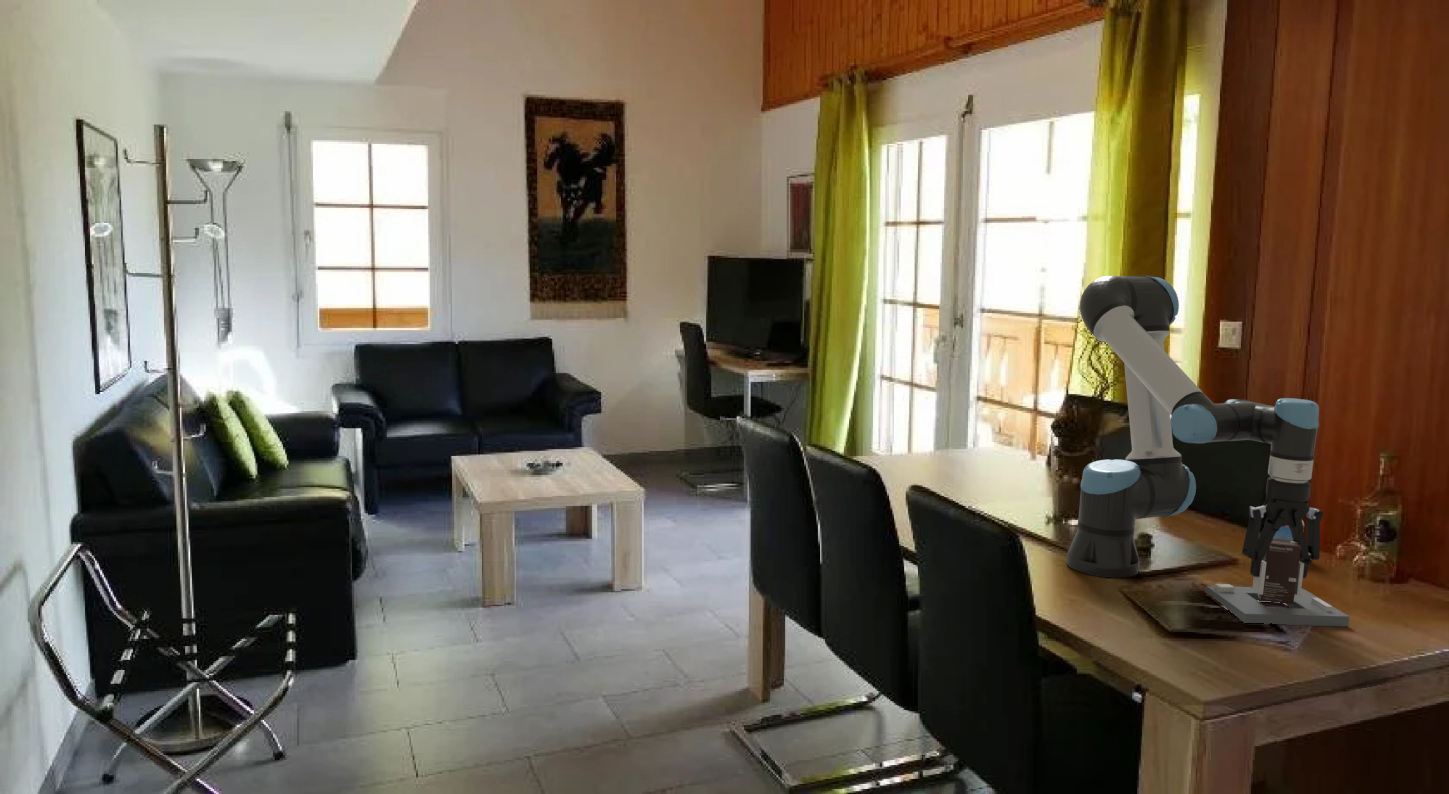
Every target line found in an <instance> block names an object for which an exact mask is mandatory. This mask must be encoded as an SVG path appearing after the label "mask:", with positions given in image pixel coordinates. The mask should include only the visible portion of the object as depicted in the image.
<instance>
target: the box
mask: <svg viewBox="0 0 1449 794" xmlns="http://www.w3.org/2000/svg"><path fill="white" fill-rule="evenodd" d="M1300 552H1301V546H1300V544H1299V543H1298V542H1296V541H1293V540H1285V539H1275V538H1273V540H1272V542H1271V543H1269V544H1268V550H1267V552H1266V554H1265V556H1264V558H1263V561H1265V562H1266V572H1265V581H1264V589H1263V595H1260V594H1258V597H1259V598H1260V600H1262V601H1271V602H1280V603H1279V604H1282V603H1287V604H1293V603H1294V595H1295V588H1296V581H1297V574H1298V567H1299V560H1300Z"/></svg>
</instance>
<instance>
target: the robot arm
mask: <svg viewBox="0 0 1449 794" xmlns="http://www.w3.org/2000/svg"><path fill="white" fill-rule="evenodd" d="M1179 303H1180V301H1179V297H1178V294H1177V291H1176V289H1175V288H1174V287H1173V286H1172V285H1171V284H1170V283H1169V282H1168V281H1167V280H1165V279H1163V278H1161V277H1157V276H1156V277H1155V276H1150V275H1105V276H1101V277H1099V278H1098V277H1097V278H1096V279H1095V280H1093V281H1092V282H1090V283H1089V284H1088V285H1087V287H1086V288H1085V289H1084V290H1083V293H1082V294H1081V297H1080V301H1079V312H1080V316H1081V319H1082V322H1083V323H1084V325H1085V327H1086V328H1087V329H1088V331H1089V333H1091V335H1092V336H1093V337H1094V338H1095V339H1096V340H1097V341H1099V342H1105V343H1106V344H1107V345H1108V346H1109V347H1110V348H1111V350H1112V351H1113V352H1114V353H1115V354H1116V355H1117V356H1118V357H1119V359H1120V360H1121V361H1122V362H1123V363H1124V375H1125V376H1124V377H1125V384H1126V385H1125V386H1126V396H1127V408H1128V410H1127V411H1128V418H1129V428H1130V430H1129V431H1130V441H1131V442H1130V443H1131V451H1130V452H1129V453H1128V454H1127V456H1126V457H1125V459H1101V460H1096V461H1093V462H1090V463H1088V464H1087V465H1086V466H1085V467H1084V468H1083V471H1082V477H1081V478H1082V479H1081V481H1080V492H1079V493H1080V494H1079V509H1078V522H1077V530H1076V533H1075V535H1074V536H1073V540H1072V541H1071V542H1070V543H1071V544H1070V545H1069V548H1068V550H1067V554H1066V562H1065V563H1066V565H1067V566H1068V567H1070V568H1071V569H1073V570H1075V571H1077V572H1081V573H1083V574H1087V575H1091V576H1097V577H1103V578H1115V579H1116V578H1117V579H1118V578H1121V579H1122V578H1130V577H1134V576H1137V575H1138V574H1139V573H1138V571H1139V572H1140V564H1141V563H1140V558H1139V553H1138V550H1137V549H1138V548H1137V546H1136V542H1135V538H1134V537H1135V536H1134V535H1135V525H1136V520H1140V519H1141V520H1142V519H1149V518H1150V519H1151V518H1159V517H1160V518H1168V517H1171V516H1174V515H1178V514H1179V515H1180V514H1181V513H1183V512H1184V511H1186V510H1187V509H1188V507H1189V506H1190V505H1192V503H1193V501H1194V498H1195V495H1196V489H1197V484H1196V478H1195V476H1194V474H1193V471H1190V468H1189V467H1188V466H1187V465H1185V464H1183V461H1182V453H1180V452H1179V451H1178V450H1176V449H1175V448H1174V444H1173V442H1174V441H1173V435H1174V437H1175V438H1176V439H1177V440H1179V441H1180V442H1183V443H1187V444H1207V443H1215V442H1217V443H1218V442H1234V441H1247V440H1248V441H1254V442H1259V443H1264V444H1268V445H1270V454H1269V461H1268V469H1267V475H1268V476H1269V477H1268V478H1266V479H1267V480H1266V487H1265V488H1266V489H1265V501H1264V503H1263V504H1262V505H1261V506H1260V505H1259V506H1256V507H1255V506H1251V505H1250V506H1249V507H1248V509H1247V512H1248V522H1247V527H1246V532H1245V535H1244V536H1245V537H1244V540H1243V541H1244V542H1243V546H1242V550H1241V554H1242V555H1244V556H1245V557H1247V558H1249V559H1250V560H1251V561H1250V562H1251V563H1250V569H1249V570H1250V571H1249V572H1250V575H1251V576H1252V577H1253V579H1252V586H1251V587H1252V590H1253V591H1255V592H1256V593H1258V594H1260V595H1263V589H1264V581H1265V572H1266V562H1265V561H1263V558H1264V556H1265V554H1266V552H1267V550H1268V544H1269V543H1271V542H1272V540H1273V538H1274V536H1275V533H1276V532H1277V531H1278V530H1279V529H1280V527H1281V526H1289V528H1290V530H1291V534H1292V538H1293V541H1296V542H1298V543H1299V544H1300V546H1301V552H1300V560H1299V567H1298V574H1297V581H1296V588H1295V595H1300V596H1301V588H1302V587H1303V579H1306V578H1307V576H1308V569H1309V565H1311V564H1312V563H1313V561H1314V560H1315V561H1318V560H1319V559H1320V557H1321V551H1320V549H1321V548H1320V547H1321V544H1320V542H1321V522H1322V521H1321V520H1322V519H1323V516H1324V512H1323V511H1322V510H1320V509H1318V508H1315V507H1310V506H1309V500H1310V494H1311V486H1312V484H1311V482H1310V481H1311V480H1312V477H1313V475H1312V474H1313V467H1314V460H1315V448H1316V443H1317V442H1316V441H1317V435H1318V430H1319V427H1320V422H1319V415H1320V406H1319V404H1318V403H1316V401H1313V400H1309V399H1304V398H1303V399H1301V398H1293V397H1291V398H1290V397H1284V398H1283V397H1282V398H1279V399H1277V401H1275V405H1268V404H1264V403H1259V402H1254V401H1250V400H1247V399H1235V398H1234V399H1233V398H1232V399H1227V400H1226V401H1225V402H1223V403H1214V402H1213V401H1212V400H1211V399H1210V398H1209V397H1208V396H1207V395H1206V394H1205V393H1204V392H1203V391H1202V389H1200V388H1199V386H1197V384H1196V383H1195V382H1194V381H1193V380H1192V379H1191V378H1190V377H1189V376H1188V375H1187V373H1185V371H1184V370H1183V369H1182V368H1181V367H1180V366H1179V365H1178V364H1177V363H1176V361H1174V360H1173V358H1172V357H1171V356H1170V355H1168V353H1167V352H1166V351H1165V344H1164V341H1165V340H1166V339H1167V337H1168V336H1169V335H1170V334H1171V330H1170V326H1171V324H1173V323H1174V322H1175V320H1176V316H1178V313H1179V309H1180V304H1179ZM1264 514H1265V515H1266V516H1267V517H1266V519H1265V521H1264V523H1263V525H1264V526H1263V528H1262V530H1261V527H1262V519H1263V518H1264ZM1305 517H1307V519H1306V537H1305V534H1304V533H1305V532H1303V530H1305V526H1304V527H1303V523H1302V520H1303V519H1304V518H1305ZM1260 531H1261V532H1260Z"/></svg>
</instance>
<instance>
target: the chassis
mask: <svg viewBox="0 0 1449 794" xmlns="http://www.w3.org/2000/svg"><path fill="white" fill-rule="evenodd" d="M1252 587H1253V586H1233V585H1231V583H1214V585H1205V593H1208V594H1209V595H1211V596H1212V597H1213V598H1214V599H1216V600H1217V601H1218V602H1220V603H1221V604H1222V605H1224V606H1225V607H1226V608H1227V609H1228V610H1230V612H1231V613H1233V614H1234V615H1235V616H1237V617H1238V618H1239V619H1240V620H1241V621H1243V622H1244V623H1264V624H1263V625H1269V624H1270V623H1272V624H1287V625H1286V626H1310V627H1311V626H1314V627H1315V626H1317V627H1349V623H1350V622H1349V621H1350V615H1348V614H1346V613H1344V612H1343V611H1341V610H1339V609H1338V608H1336V607H1334V606H1332V605H1331V604H1330V603H1328V602H1326V601H1324V600H1322V599H1321V598H1319V596H1316V595H1315V594H1313V593H1312V592H1309V591H1308V590H1306V589H1304V588H1301V596H1300V595H1294V603H1293V604H1287V603H1286V604H1287V605H1288V607H1289V608H1288V607H1286V608H1285V607H1268V606H1266V605H1264V603H1260V602H1258V601H1257V600H1259V601H1262V600H1260V598H1259V597H1258V593H1256V592H1255V591H1253V590H1252ZM1240 620H1239V621H1240ZM1241 621H1240V622H1241ZM1244 623H1243V624H1244Z"/></svg>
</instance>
